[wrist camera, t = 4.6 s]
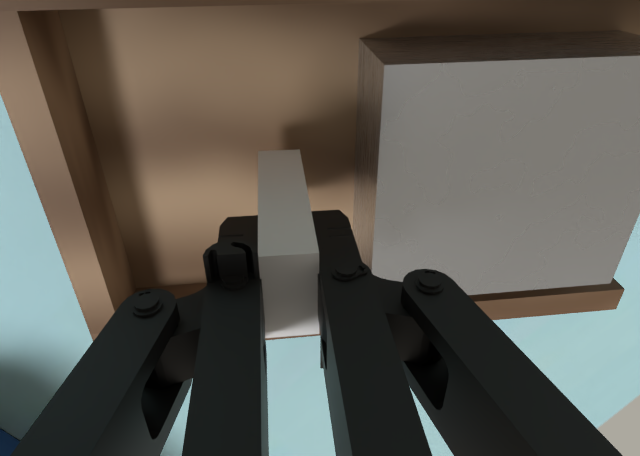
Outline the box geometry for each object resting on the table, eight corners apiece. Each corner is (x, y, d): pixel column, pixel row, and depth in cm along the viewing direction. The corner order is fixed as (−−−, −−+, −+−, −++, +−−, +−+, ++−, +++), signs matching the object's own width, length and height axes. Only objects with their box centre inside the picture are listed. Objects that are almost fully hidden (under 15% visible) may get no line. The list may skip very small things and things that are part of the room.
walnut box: (17, -46, 15) (-50, -40, 12) (674, -55, 17) (773, -52, 14) (121, 293, 23) (98, 354, 20) (567, 258, 25) (615, 309, 22)
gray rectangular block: (359, 38, 17) (384, 64, 13) (620, 30, 18) (705, 53, 14) (352, 245, 22) (369, 303, 18) (557, 230, 23) (610, 283, 19)
